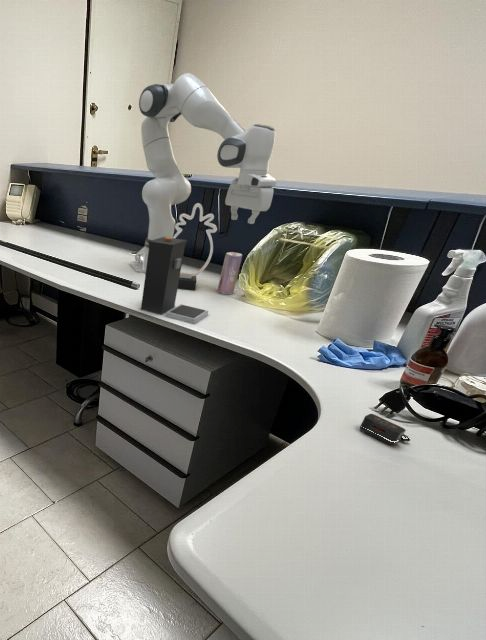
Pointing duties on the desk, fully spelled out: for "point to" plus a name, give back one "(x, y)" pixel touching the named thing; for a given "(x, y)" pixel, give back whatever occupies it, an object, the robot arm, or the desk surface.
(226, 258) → the beverage can
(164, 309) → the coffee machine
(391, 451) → the desk surface
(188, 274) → the lamp
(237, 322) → the desk surface
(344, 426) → the desk surface
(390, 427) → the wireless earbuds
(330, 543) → the desk surface
